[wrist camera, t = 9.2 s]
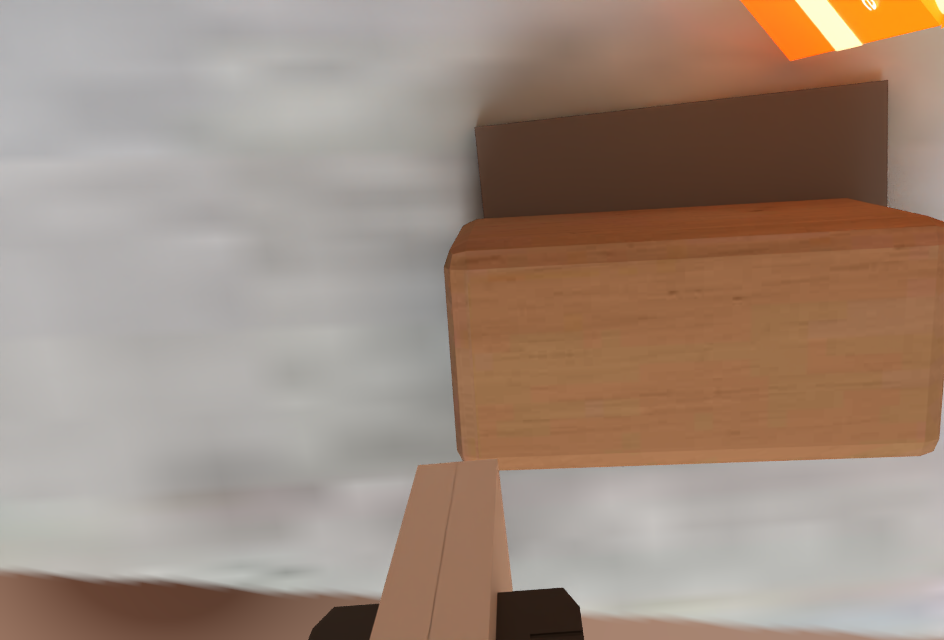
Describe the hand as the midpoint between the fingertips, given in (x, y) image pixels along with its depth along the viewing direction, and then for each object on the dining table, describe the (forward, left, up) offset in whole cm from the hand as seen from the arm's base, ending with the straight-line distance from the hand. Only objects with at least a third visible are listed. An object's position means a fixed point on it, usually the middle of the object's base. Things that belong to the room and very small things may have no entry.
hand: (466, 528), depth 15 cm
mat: (+1, +9, -28) cm, 30 cm away
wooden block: (+2, -2, -23) cm, 23 cm away
